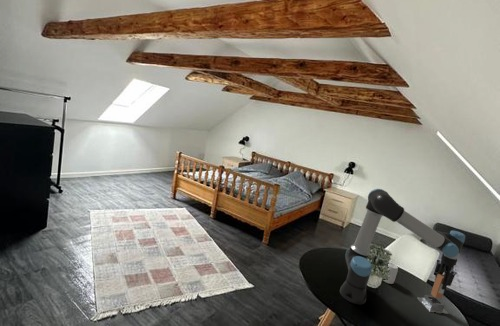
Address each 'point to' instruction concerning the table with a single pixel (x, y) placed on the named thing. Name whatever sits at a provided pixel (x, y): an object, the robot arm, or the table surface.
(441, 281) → the orange square peg
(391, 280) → the beverage can
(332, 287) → the table surface
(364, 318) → the table surface
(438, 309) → the grey square socket
